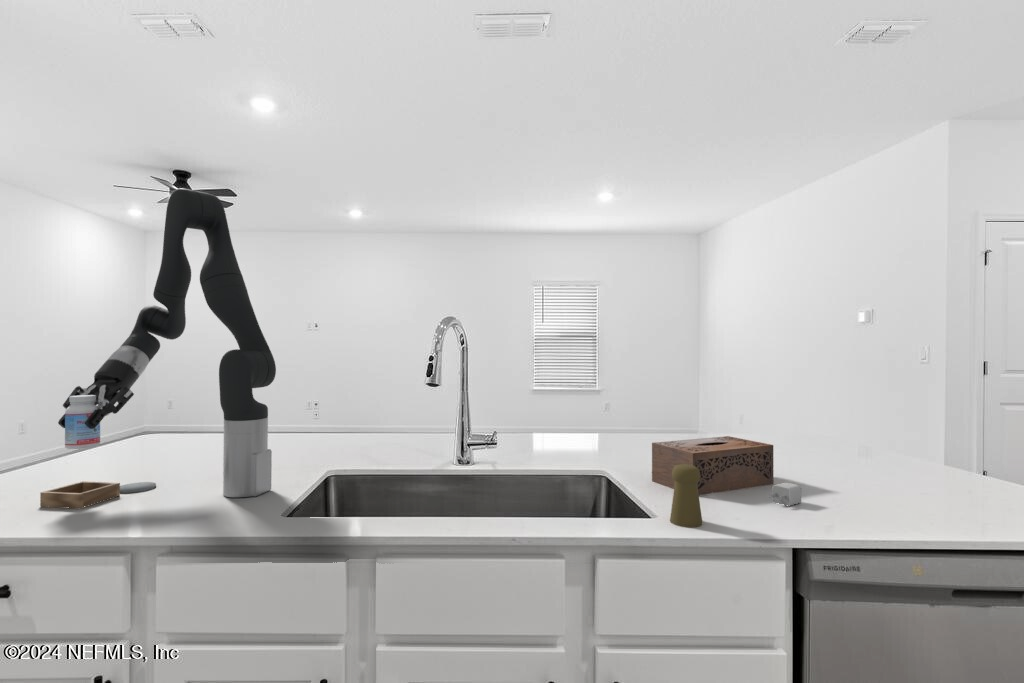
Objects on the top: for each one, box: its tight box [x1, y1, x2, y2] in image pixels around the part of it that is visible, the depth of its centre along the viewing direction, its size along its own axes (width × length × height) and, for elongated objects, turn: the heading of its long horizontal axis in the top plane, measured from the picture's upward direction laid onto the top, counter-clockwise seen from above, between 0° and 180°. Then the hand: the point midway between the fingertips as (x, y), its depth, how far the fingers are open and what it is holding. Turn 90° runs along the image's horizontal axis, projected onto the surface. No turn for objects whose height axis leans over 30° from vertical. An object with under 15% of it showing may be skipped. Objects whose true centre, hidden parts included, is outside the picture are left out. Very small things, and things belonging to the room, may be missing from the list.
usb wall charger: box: [768, 482, 802, 507], centre depth 117 cm, size 4×7×4 cm, turn 122°
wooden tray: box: [39, 480, 121, 509], centre depth 118 cm, size 10×10×3 cm
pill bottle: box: [64, 395, 101, 450], centre depth 118 cm, size 6×6×11 cm
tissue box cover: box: [651, 435, 774, 496], centre depth 135 cm, size 26×14×10 cm, turn 114°
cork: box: [669, 464, 703, 528], centre depth 105 cm, size 6×6×11 cm
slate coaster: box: [120, 481, 157, 494], centre depth 128 cm, size 8×8×1 cm
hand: (75, 426), depth 117 cm, fingers closed on pill bottle, 6 cm apart
